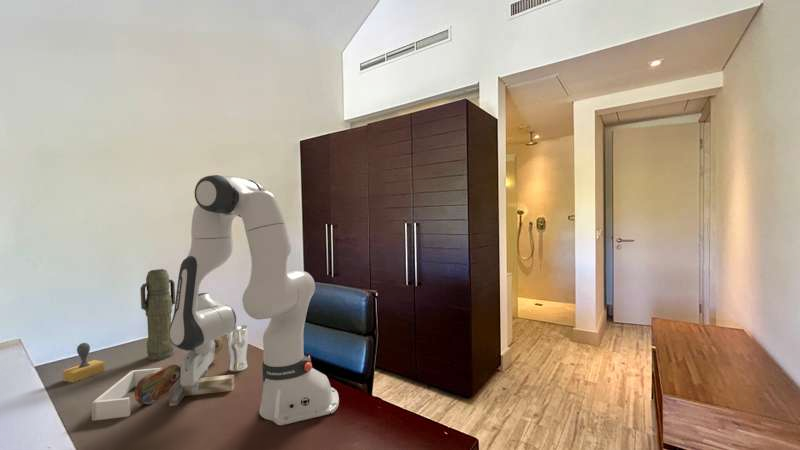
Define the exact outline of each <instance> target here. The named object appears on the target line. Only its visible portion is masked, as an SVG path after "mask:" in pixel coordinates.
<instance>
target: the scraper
mask: <svg viewBox="0 0 800 450" xmlns="http://www.w3.org/2000/svg"><path fill="white" fill-rule="evenodd" d="M198 385H200V390H199V391H198V392H197V393H192V388H191V386H185V387H182V386H181V383H180V378H179V379H178V380H177V381H176V382H175V383H174V385H173V386H172V387H171V388H170V389H169V394H168V397H169V399H168V400H169V402H168V403H169V407H172V406H178V404H179V403H180V402H181V401H182V399H183V398H184V397H186V396H187V397H188V396H196V395H204V394H205V395H206V394H213V393H214V394H215V393H222V392H223V393H225V392H231V391H233V390H234V388H235V374H226V375H215V376H207V377H204V378H199V381H198Z"/></svg>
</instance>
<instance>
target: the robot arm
mask: <svg viewBox="0 0 800 450" xmlns="http://www.w3.org/2000/svg"><path fill="white" fill-rule="evenodd" d="M194 199H195V201H196V204H197V205H196V206H195V207H194V208H193V214H192V219H191V230H190V231H191V232H190V233H191V243H190V249H189V252H188V254H187V256H186V258H184V259H183V260H182V262H181V264H180V268H179V273H178V279H177V284H176V292H175V304H174V310H173V316H172V318H171V325H170V330H169V337H170V340H171V342H172V344H173V345H174V347H176V348H177V349H180V350H181V353H182V354H184V355H185V358H183V360H182V361H181V364H180V369H181V376H180V383H181V386H182V387H185V386H191V388H192V393H197V392H198V391H199V390H200V385H198V381H199V378H204V377H208V376H207V375H208V370H209V367H210V365H212V364H211V363H212V362H214V361H215V341H216V339H217V338H222V337H224V336H227V334H229V333H231V332H232V331H233V330H234V328H235V326H237V325H236V324H237V315H236V312H235V311H234V309H233V308H232V307H231V306H229V305H227V304H222V303H220V302H219V301H216V300H215V299H213V298H212V296H211V294H210V293H209V292H202V293H199V292H200V290H199V289H200V285H201V283H202V281H203V279H204V278H205V277H206V276H207V275H209V274H210V273H211V272H213V271H215V270H216V269H218V268H219V267H221V266H222V265H224V264H225V263H226V262H227V261H228V260H229V258H230V257H231V256H232V253H233V246H234V245H233V230H232V228H233V227H232V224H233V221H234V219H235V218H236V217H237V216H238V217H239V218H240V219H242V222H243V226H244V231H245V235H246V239H247V244H248V248H249V254H250V258H251V260H250V261H251V268H250V269H251V270H250V278H249V282H248V285H247V287H246V288H245V290H244V292H243V294H242V307H243V309H244V311H245V313H246V314H247V315H248V316H249V317H250V318H252V319H253V320H269V319H270V321H269V323H268V325H267V327H266V328H265V330H264V332H263V336H262V343H263V345H262V347H263V360H262V363H261V377H262V382H263V389H262V397H261V402H260V407H259V410H258V413H259V415H260V417H262V418H264V419H265V420H268V421H271V422H274V423H275V424H276V425H278V426H284V425H288V424H292V423H296V422H300V421H305V420H310V419H313V418H318V417H323V416H326V415H331V414H333V413H335V412H336V411H337V409H338V407H339V404H340V397H339V392H338V391H337V389H335V388H334V387H332V386H331V383H330V381H329V378H328V376H327V375H326V374H324V373H322V372H321V371H319V370H317V369H315V368H314V367H313V363H312V358H311V355H308V356H307V355H305V354H304V329H305V323H306V317H307V312H308V309H309V305H310V302H311V299H312V297H313V295H314V293H315V291H316V283H315V279H314V278H313V276H312V275H311V274H310V273H309V272H307V271H305V270H304V271H303V270H288V271H287V269H288V268H287V267H288V266H287V264H288V263H287V262H288V257H289V256H290V254H291V252H292V251H291V250H292V247H291V242H290V237H289V234H288V230H287V225H286V222H285V219H284V215H283V211H282V210H281V207H280V205H279V203H278V201H277V198H276V197H275V195H274V194H273V193H272V192H270V191H267V190H265V188H264V187H263V186H262V184H259V182H256V181H254V180H252V179H244V178H240V177H238V176H230V175H218V174H214V175H212V174H211V175H207V176H204V177H202V178H200V179H199V180H198V182H197V183H196V185H195V187H194ZM213 360H214V361H213ZM330 413H331V414H330Z"/></svg>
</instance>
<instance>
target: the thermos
mask: <svg viewBox="0 0 800 450" xmlns="http://www.w3.org/2000/svg"><path fill="white" fill-rule="evenodd" d="M175 285H176V284H175V281H174V280H173V279H170V276H169V273H168V271H167V270H166V269H163V268H161V269H152V270H150V271H148V272H147V274H146V278H145V283H143V284H142V285H141V286H140V289H139V290H140V308H141V310H143V311H145V316H146V319H147V338H148V339H147V342H146V353H147V360H148V361H161V360H165V359H168V358H170V357H171V358H172V356H173V355H174V348H175V345H173V344H172V342H171V340H170V337H169V330H170V325H171V322H172V312H173V306H174V305H175V301H176V288H175ZM146 293H147V294H146Z"/></svg>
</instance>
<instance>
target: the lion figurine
mask: <svg viewBox="0 0 800 450" xmlns="http://www.w3.org/2000/svg"><path fill="white" fill-rule="evenodd" d="M223 349H224V339H223V338H222V337H219V338H217V339H216V341H215V355H217V354H218V353H219V352H220V351H222V350H223ZM214 361H215V359H214V360H213V361H212V363H211V364H210V365H213V364H214Z"/></svg>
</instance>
